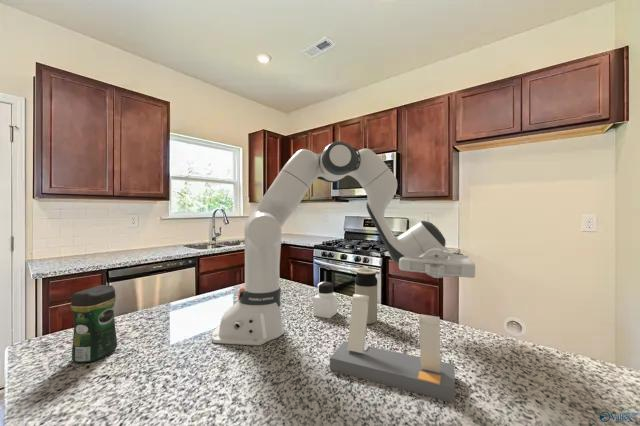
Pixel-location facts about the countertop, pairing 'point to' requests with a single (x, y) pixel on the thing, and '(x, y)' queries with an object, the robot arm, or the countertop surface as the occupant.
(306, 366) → the countertop surface
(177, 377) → the countertop surface
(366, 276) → the travel mug
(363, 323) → the inner lever
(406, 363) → the switch unit
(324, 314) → the medicine bottle
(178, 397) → the countertop surface
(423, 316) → the outer lever
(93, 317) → the coffee jar
